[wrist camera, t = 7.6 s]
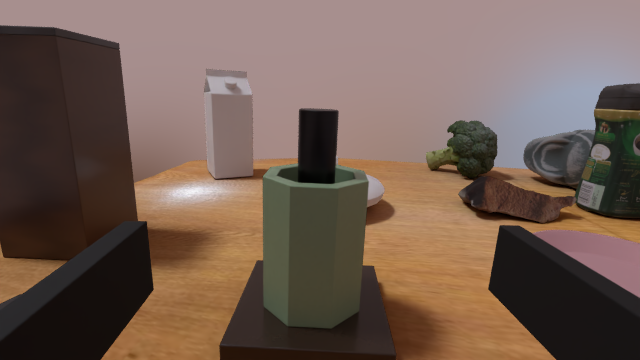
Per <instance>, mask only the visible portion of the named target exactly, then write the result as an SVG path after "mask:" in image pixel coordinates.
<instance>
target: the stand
mask: <svg viewBox="0 0 640 360" xmlns="http://www.w3.org/2000/svg"><path fill="white" fill-rule="evenodd" d="M119 49H120V48H119V43H115V42H111V41H107V40H103V39H99V38H95V37H91V36H87V35H83V34H79V33H75V32H71V31H67V30H63V29H59V28H54V27H30V26H1V25H0V244H1V248H2V253H3V256H4V257H20V258H40V259H61V260H71V259H72V258H74V257H75V256H76V255H78V254H79V253H81V252H82V251H83V250H85V249H86V248H88V247H89V246H90V245H92V244H93V243H95V242H96V241H97V240H99V239H100V238H102V237H103V236H104V235H106V234H107V233H109V232H110V231H111V230H113V229H114V228H116V227H117V226H118V225H120V224H121V223H123V222H124V221H138V218H137V209H136V199H135V190H134V181H133V172H132V162H131V152H130V143H129V134H128V125H127V115H126V105H125V96H124V87H123V77H122V67H121V58H120V51H119Z"/></svg>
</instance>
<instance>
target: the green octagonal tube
mask: <svg viewBox="0 0 640 360" xmlns="http://www.w3.org/2000/svg"><path fill="white" fill-rule="evenodd" d="M368 187H369V181H368V179H367V176H366V174H365V172H364V171H361V170H357V169H353V168H349V167H345V166H341V165H336V171H335V184H317V183H298V163H297V164H290V165H283V166H276V167H270V169H269V170H268V171H267V172H266V173H265V175H264V176H263V297H264V307H265V308H266V309H268V310H269V311H270V312H271V313H272V314H273V315H275V316H276V317H277V318H278V319H279V320H281V321H282V322H283V323H284V324H285V325H287V326H291V327H310V328H329V329H332V328H333V327H335V326H336V325H338V324H339V323H341V322H343V321H344V320H346V319H347V318H349V317H351V316H352V315H354V314H355V313H357V312H358V311H359V305H360V292H361V279H362V265H363V252H364V239H365V226H366V213H367V200H368Z"/></svg>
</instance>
